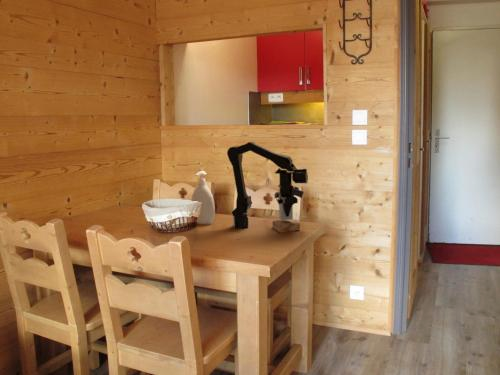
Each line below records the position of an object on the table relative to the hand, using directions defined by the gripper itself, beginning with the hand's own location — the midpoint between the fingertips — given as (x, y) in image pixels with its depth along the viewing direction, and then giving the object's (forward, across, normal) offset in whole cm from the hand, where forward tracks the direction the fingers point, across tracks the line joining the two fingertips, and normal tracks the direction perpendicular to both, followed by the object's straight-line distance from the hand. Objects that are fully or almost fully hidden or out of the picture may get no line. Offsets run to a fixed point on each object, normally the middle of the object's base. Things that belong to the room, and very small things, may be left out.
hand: (285, 215), depth 237 cm
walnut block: (+7, 0, 0) cm, 7 cm away
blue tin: (+2, 0, 0) cm, 2 cm away
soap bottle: (+7, +25, +37) cm, 45 cm away
